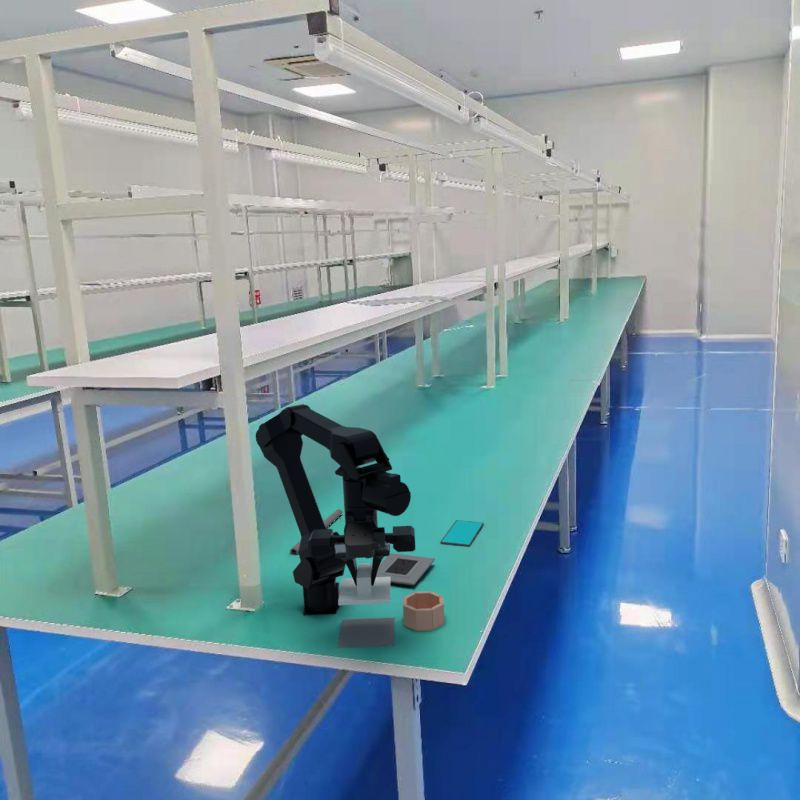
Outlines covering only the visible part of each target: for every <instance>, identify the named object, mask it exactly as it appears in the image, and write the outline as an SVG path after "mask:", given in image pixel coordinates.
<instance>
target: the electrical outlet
mask: <svg viewBox="0 0 800 800" xmlns="http://www.w3.org/2000/svg"><path fill="white" fill-rule="evenodd" d="M435 560H436V558H435V557H425V556H417V555H411V554H402V553H395V552H394V553H393V552H390V555H389V556H386V558H385V559H383V560H382V561H381V563H380V565H379V568H378V572H377V575H376V577H390V578H391V584H392V585H400V586H401V585H402V586H408V587H414V586H415V585H416V583H417V582H418V581H419V580H420V579H421V577H423V575H424V574H425V573H426V571H427V570H428V569H429V568H430V567H431V566H432V564H433V563H434V562H435Z"/></svg>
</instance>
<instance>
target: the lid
mask: <svg viewBox="0 0 800 800" xmlns="http://www.w3.org/2000/svg"><path fill="white" fill-rule="evenodd" d="M371 573H372V562H370V563H369V562H368V563H364V562H363V563H358V565H357V586H356V585H355V583H354V580H353V578H352V577H351V578H349V577H347V578H342V579H341V583H340V594H339V599H338V605H340V606H352V605H353V606H355V605H380V604H381V605H382V604H383V605H384V604H391V584H392V583H391V578H390V577H376V579H375V582H374V586H372V585H371Z"/></svg>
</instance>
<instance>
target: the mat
mask: <svg viewBox="0 0 800 800" xmlns="http://www.w3.org/2000/svg"><path fill="white" fill-rule="evenodd" d="M395 620H396V618H395V617H375V618H372V617H370V618H350V619H349V618H347V619H346V618H343V619H341V621H340V629H339V636H338V641H337V647H336V648H338V649H339V648H361V647H362V648H364V647H367V648H368V647H369V648H370V647H387V646H388V647H389V646H391V647H393V646H395Z"/></svg>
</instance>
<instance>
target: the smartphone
mask: <svg viewBox="0 0 800 800" xmlns="http://www.w3.org/2000/svg"><path fill="white" fill-rule="evenodd" d="M484 524H485V523H484V522H481V521H480V522H479V521H472V520H471V521H469V520H455V522H454V523H453V524H452V525H451V527H450V528H449V529H448V531H447V532H446V534H445V535H444V536H443V537H442V539H441V540H440V542H439V543H440V545H444V546H445V545H446V546H456V547H466V548H470V547H471V546H472V545H473V542H474V541H475V540H476V538H477V536H478V535H479V534H480V532H481V531H482V529H483V527H484Z"/></svg>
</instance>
